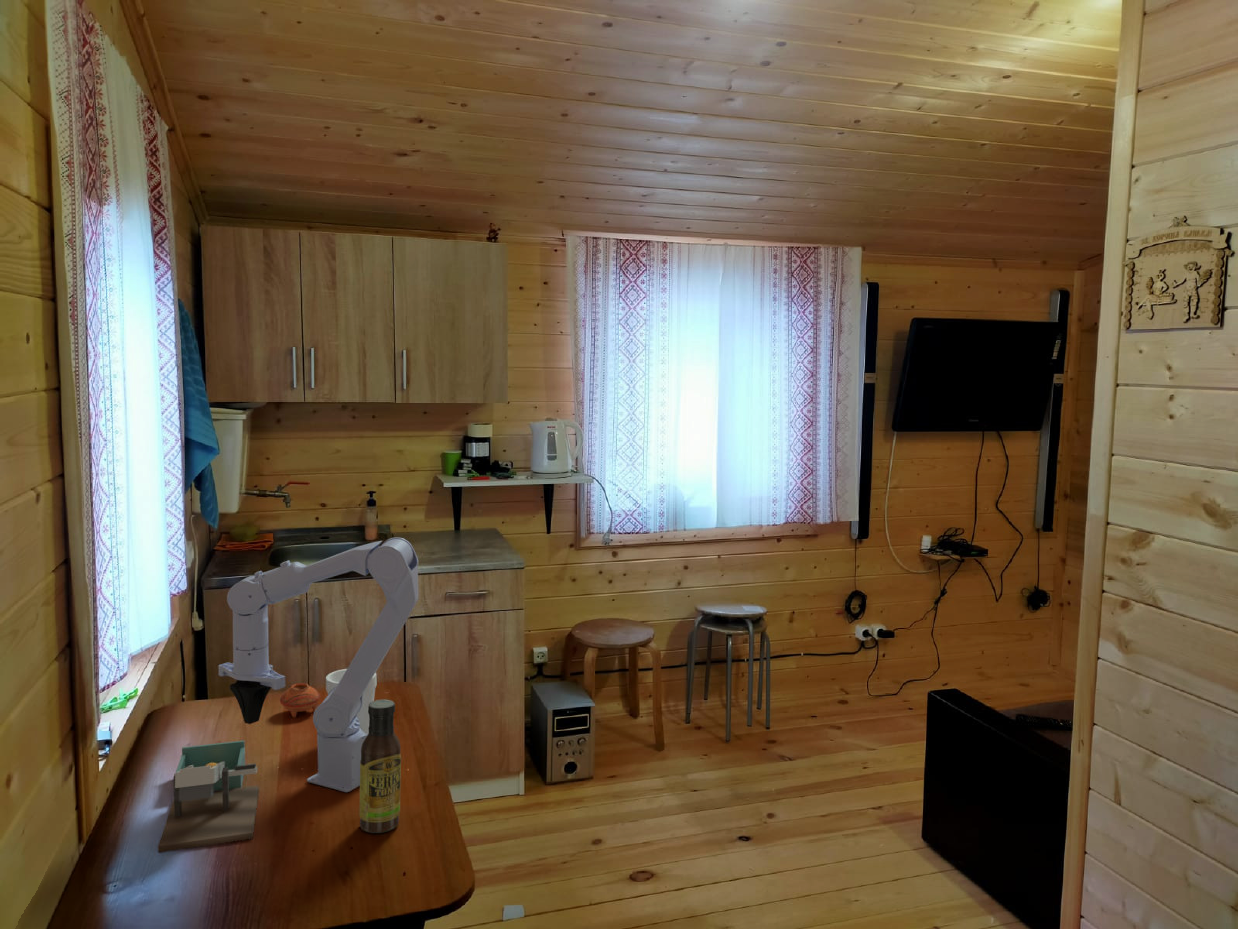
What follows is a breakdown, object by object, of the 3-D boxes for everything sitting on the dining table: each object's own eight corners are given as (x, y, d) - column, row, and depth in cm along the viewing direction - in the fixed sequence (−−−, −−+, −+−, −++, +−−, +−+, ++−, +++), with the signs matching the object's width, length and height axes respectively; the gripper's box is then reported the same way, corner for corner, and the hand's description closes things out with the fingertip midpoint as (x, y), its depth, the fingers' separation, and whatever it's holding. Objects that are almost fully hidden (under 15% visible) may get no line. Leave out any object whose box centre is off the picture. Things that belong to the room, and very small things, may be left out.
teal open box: (241, 791, 151) (240, 763, 151) (174, 799, 148) (174, 770, 148) (245, 767, 161) (244, 740, 161) (183, 774, 158) (182, 747, 157)
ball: (224, 778, 155) (225, 762, 157) (209, 774, 152) (211, 757, 154) (212, 785, 155) (213, 769, 157) (197, 781, 153) (198, 765, 155)
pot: (318, 702, 194) (319, 675, 192) (319, 723, 187) (320, 695, 185) (279, 705, 191) (280, 677, 189) (279, 726, 184) (279, 698, 182)
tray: (251, 792, 136) (251, 761, 137) (174, 802, 133) (175, 770, 134) (257, 783, 151) (257, 755, 152) (189, 792, 147) (189, 763, 148)
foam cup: (368, 750, 169) (367, 684, 168) (320, 749, 169) (319, 683, 168) (382, 731, 178) (381, 668, 177) (337, 730, 179) (336, 667, 177)
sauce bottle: (368, 840, 136) (366, 714, 134) (353, 824, 141) (351, 702, 139) (407, 828, 140) (406, 705, 138) (392, 812, 144) (390, 694, 143)
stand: (252, 839, 136) (251, 791, 135) (158, 852, 131) (156, 803, 131) (259, 791, 152) (257, 748, 151) (174, 801, 147) (173, 757, 147)
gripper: (298, 646, 154) (299, 722, 156) (241, 634, 161) (242, 706, 162) (265, 657, 148) (266, 735, 149) (207, 643, 155) (208, 719, 156)
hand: (251, 721), depth 155 cm, fingers closed
